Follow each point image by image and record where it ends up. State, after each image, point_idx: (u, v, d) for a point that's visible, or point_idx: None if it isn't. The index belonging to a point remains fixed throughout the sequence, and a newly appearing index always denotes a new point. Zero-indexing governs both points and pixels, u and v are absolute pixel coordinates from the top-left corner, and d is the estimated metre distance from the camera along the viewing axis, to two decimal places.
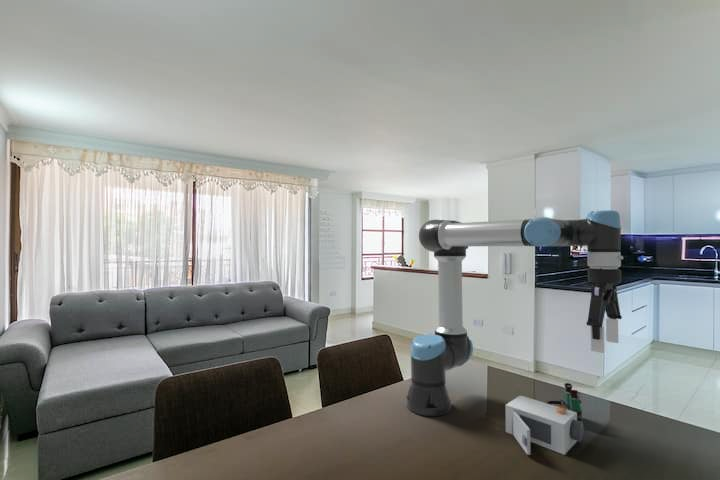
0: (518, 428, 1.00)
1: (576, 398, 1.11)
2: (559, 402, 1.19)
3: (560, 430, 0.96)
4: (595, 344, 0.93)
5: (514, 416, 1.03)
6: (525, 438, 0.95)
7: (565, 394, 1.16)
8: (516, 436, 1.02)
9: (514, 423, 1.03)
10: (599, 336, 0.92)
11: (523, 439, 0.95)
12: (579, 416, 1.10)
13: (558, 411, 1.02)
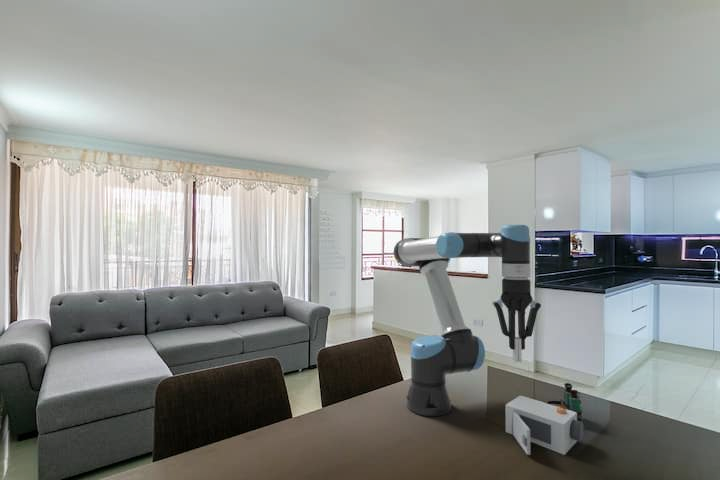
0: (518, 428, 1.00)
1: (576, 398, 1.11)
2: (559, 402, 1.19)
3: (560, 430, 0.96)
4: (513, 353, 1.04)
5: (514, 416, 1.03)
6: (525, 438, 0.95)
7: (565, 394, 1.16)
8: (516, 436, 1.02)
9: (514, 423, 1.03)
10: (512, 346, 1.03)
11: (523, 439, 0.95)
12: (579, 416, 1.10)
13: (558, 411, 1.02)
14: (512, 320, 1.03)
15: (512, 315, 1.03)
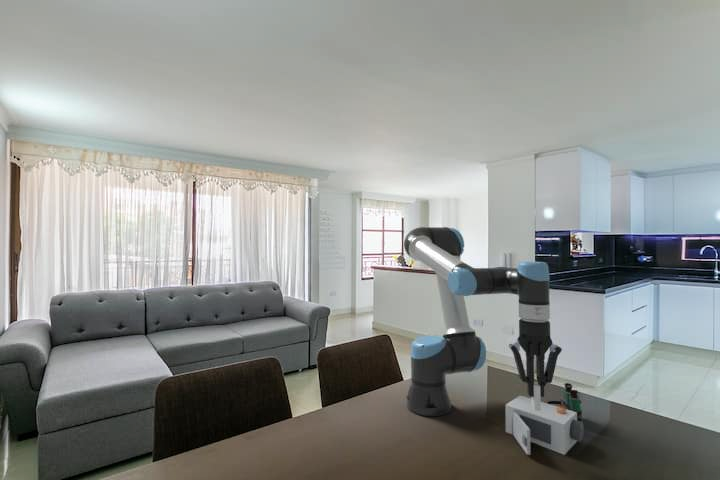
0: (518, 428, 1.00)
1: (576, 398, 1.11)
2: (559, 402, 1.19)
3: (560, 430, 0.96)
4: (532, 400, 0.97)
5: (514, 416, 1.03)
6: (525, 438, 0.95)
7: (565, 394, 1.16)
8: (516, 436, 1.02)
9: (514, 423, 1.03)
10: (531, 393, 0.96)
11: (523, 439, 0.95)
12: (579, 416, 1.10)
13: (558, 411, 1.02)
14: (531, 365, 0.95)
15: (531, 360, 0.95)
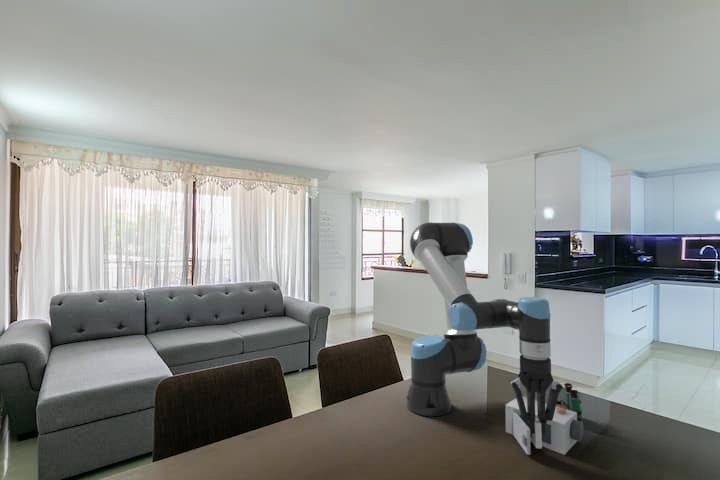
0: (518, 428, 1.00)
1: (576, 398, 1.11)
2: (559, 402, 1.19)
3: (560, 430, 0.96)
4: (533, 437, 0.96)
5: (514, 416, 1.03)
6: (525, 438, 0.95)
7: (565, 394, 1.16)
8: (516, 436, 1.02)
9: (514, 423, 1.03)
10: (532, 430, 0.95)
11: (523, 439, 0.95)
12: (579, 416, 1.10)
13: (558, 411, 1.02)
14: (532, 402, 0.95)
15: (531, 397, 0.95)
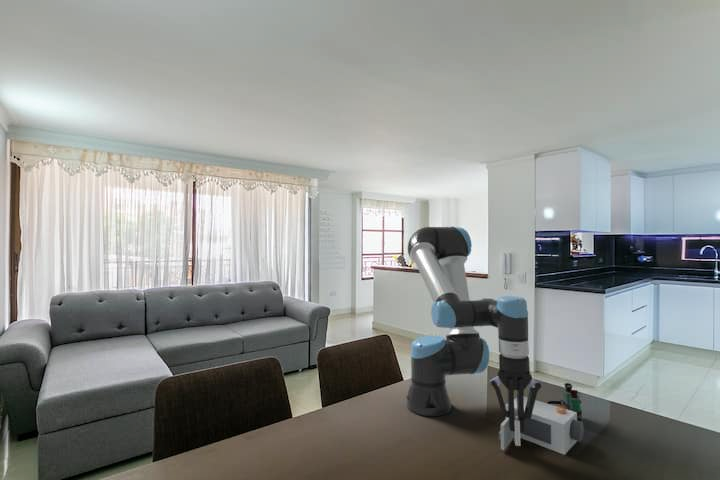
0: None
1: (576, 398, 1.11)
2: (559, 402, 1.19)
3: (560, 430, 0.96)
4: (514, 435, 0.98)
5: None
6: (499, 433, 0.97)
7: (565, 394, 1.16)
8: None
9: None
10: (512, 428, 0.97)
11: None
12: (579, 416, 1.10)
13: (558, 411, 1.02)
14: (511, 400, 0.97)
15: (510, 395, 0.97)
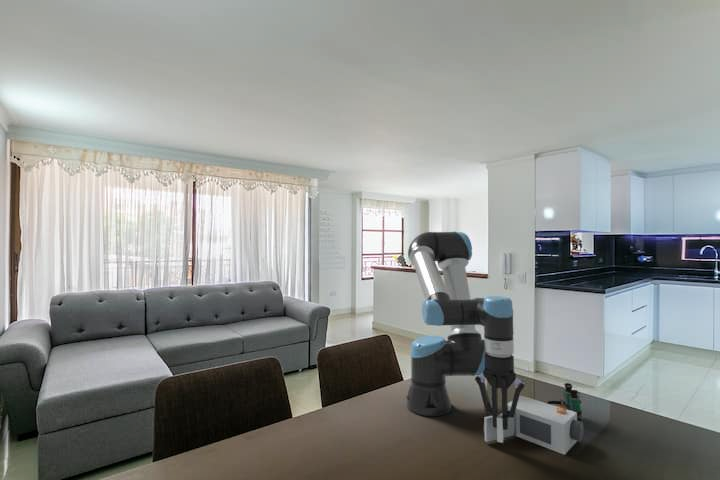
0: None
1: (576, 398, 1.11)
2: (559, 402, 1.19)
3: (560, 430, 0.96)
4: None
5: None
6: (484, 425, 1.02)
7: (565, 394, 1.16)
8: None
9: None
10: (495, 424, 0.99)
11: None
12: (579, 416, 1.10)
13: (558, 411, 1.02)
14: (493, 397, 0.99)
15: (493, 392, 0.99)
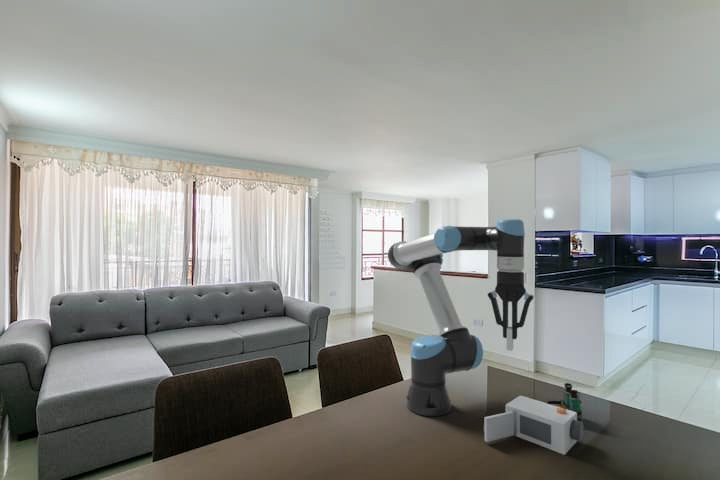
0: None
1: (576, 398, 1.11)
2: (559, 402, 1.19)
3: (560, 430, 0.96)
4: None
5: None
6: None
7: (565, 394, 1.16)
8: None
9: None
10: (505, 335, 1.09)
11: None
12: (579, 416, 1.10)
13: (558, 411, 1.02)
14: (504, 310, 1.08)
15: (504, 305, 1.08)
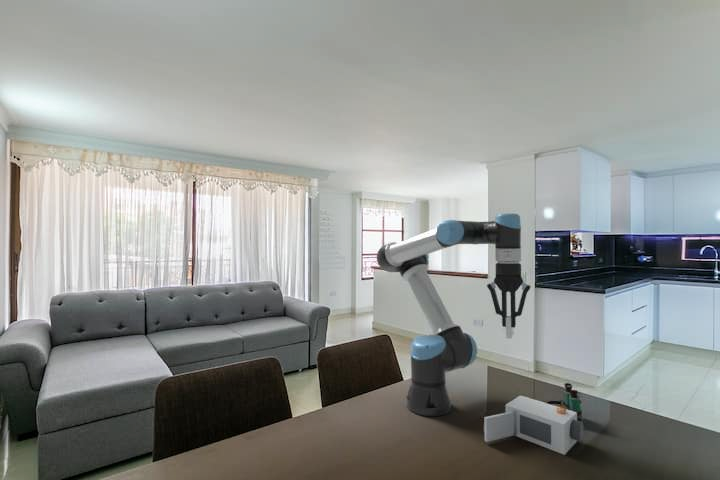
0: None
1: (576, 398, 1.11)
2: (559, 402, 1.19)
3: (560, 430, 0.96)
4: None
5: None
6: None
7: (565, 394, 1.16)
8: None
9: None
10: (504, 324, 1.14)
11: None
12: (579, 416, 1.10)
13: (558, 411, 1.02)
14: (503, 300, 1.14)
15: (503, 295, 1.14)
